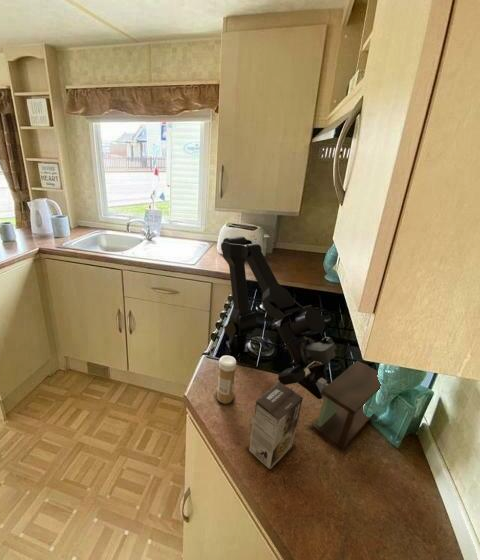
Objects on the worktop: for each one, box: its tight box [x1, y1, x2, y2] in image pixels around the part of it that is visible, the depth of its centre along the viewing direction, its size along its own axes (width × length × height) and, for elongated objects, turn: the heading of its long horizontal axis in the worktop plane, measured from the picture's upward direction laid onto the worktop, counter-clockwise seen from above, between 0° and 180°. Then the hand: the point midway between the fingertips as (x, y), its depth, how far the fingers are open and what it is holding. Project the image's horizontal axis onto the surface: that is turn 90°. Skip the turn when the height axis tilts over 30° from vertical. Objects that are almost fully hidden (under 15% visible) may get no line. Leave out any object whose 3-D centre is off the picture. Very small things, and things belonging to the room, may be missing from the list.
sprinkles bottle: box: [216, 355, 237, 404], centre depth 86 cm, size 5×5×14 cm
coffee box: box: [248, 381, 304, 470], centre depth 71 cm, size 9×6×16 cm
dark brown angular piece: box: [311, 360, 381, 451], centre depth 80 cm, size 8×18×13 cm, turn 129°
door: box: [316, 378, 339, 427], centre depth 81 cm, size 5×8×10 cm, turn 129°
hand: (324, 395), depth 80 cm, fingers open, 3 cm apart
